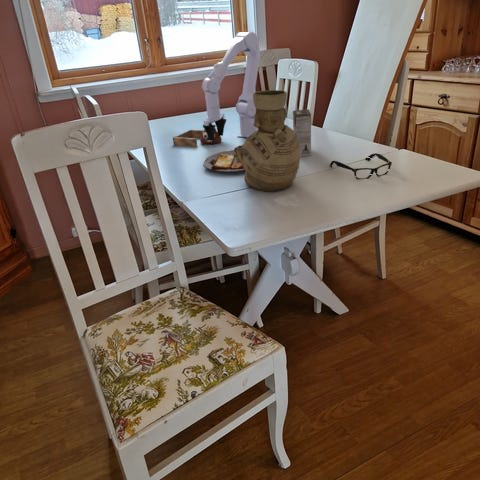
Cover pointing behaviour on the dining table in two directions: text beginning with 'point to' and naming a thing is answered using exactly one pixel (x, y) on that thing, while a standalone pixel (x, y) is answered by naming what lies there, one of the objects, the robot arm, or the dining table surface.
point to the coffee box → (303, 130)
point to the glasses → (365, 168)
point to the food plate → (223, 162)
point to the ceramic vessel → (270, 145)
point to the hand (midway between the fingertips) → (216, 137)
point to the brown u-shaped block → (188, 138)
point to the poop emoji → (205, 138)
